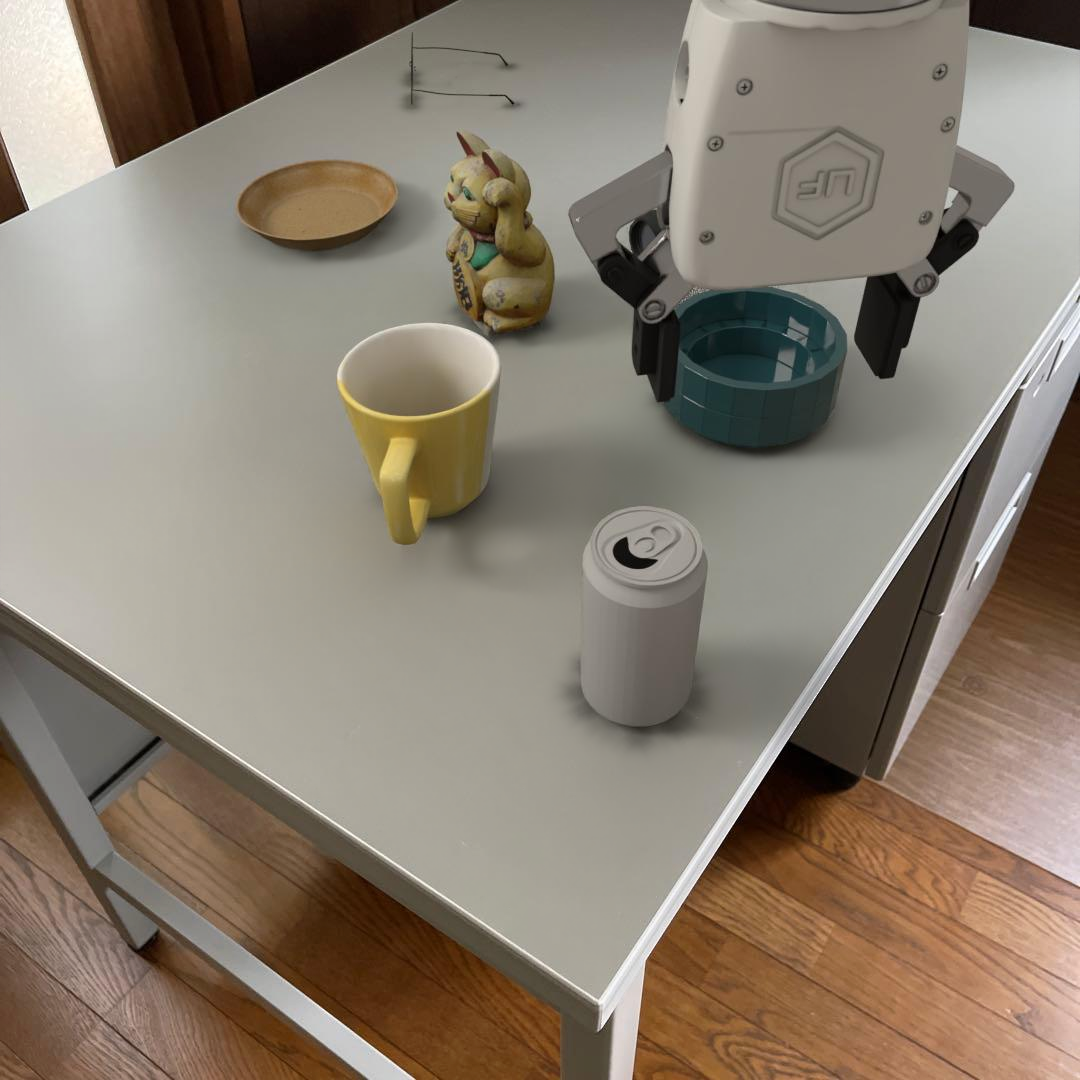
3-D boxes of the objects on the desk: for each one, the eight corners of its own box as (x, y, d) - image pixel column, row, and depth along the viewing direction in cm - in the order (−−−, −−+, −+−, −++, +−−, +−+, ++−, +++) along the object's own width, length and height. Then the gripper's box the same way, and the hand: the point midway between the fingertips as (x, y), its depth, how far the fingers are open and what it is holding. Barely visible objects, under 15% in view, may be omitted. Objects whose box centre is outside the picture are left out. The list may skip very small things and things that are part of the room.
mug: (396, 430, 81) (379, 308, 73) (528, 459, 78) (523, 335, 71) (309, 558, 72) (279, 434, 64) (454, 595, 69) (441, 469, 62)
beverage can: (557, 685, 64) (556, 540, 56) (635, 629, 67) (645, 482, 59) (635, 754, 61) (646, 610, 52) (714, 691, 64) (737, 545, 55)
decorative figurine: (435, 301, 93) (418, 128, 82) (517, 271, 96) (511, 101, 85) (495, 357, 87) (485, 178, 77) (581, 323, 90) (583, 147, 80)
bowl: (832, 359, 86) (845, 292, 82) (833, 465, 77) (848, 397, 73) (668, 344, 88) (673, 278, 84) (651, 447, 79) (655, 379, 75)
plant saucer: (373, 271, 96) (369, 244, 95) (215, 256, 99) (209, 229, 97) (420, 190, 107) (417, 165, 105) (276, 178, 109) (271, 153, 107)
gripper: (594, 2, 32) (585, 448, 45) (1145, -37, 34) (992, 404, 46) (553, -77, 38) (555, 341, 50) (1033, -107, 39) (922, 305, 51)
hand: (766, 371), depth 48 cm, fingers open, 9 cm apart
